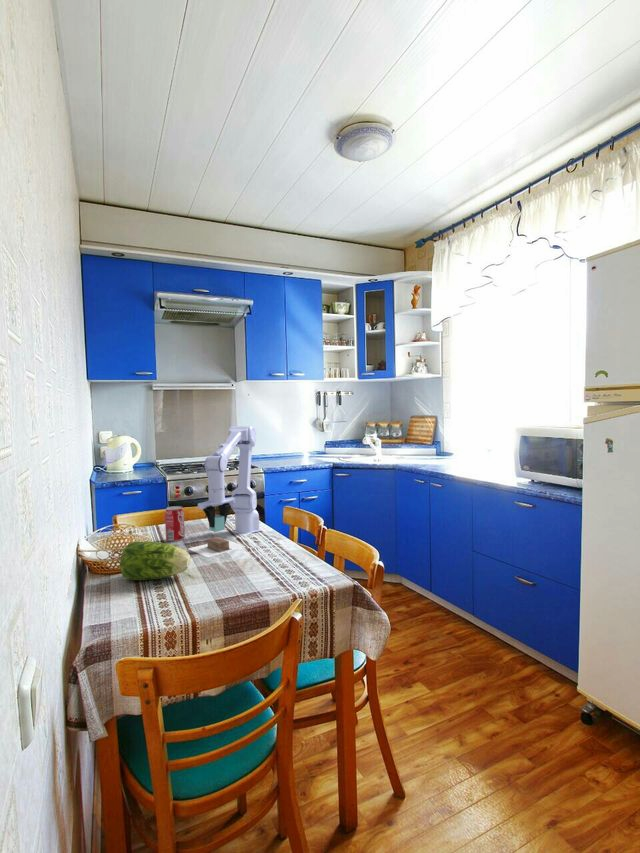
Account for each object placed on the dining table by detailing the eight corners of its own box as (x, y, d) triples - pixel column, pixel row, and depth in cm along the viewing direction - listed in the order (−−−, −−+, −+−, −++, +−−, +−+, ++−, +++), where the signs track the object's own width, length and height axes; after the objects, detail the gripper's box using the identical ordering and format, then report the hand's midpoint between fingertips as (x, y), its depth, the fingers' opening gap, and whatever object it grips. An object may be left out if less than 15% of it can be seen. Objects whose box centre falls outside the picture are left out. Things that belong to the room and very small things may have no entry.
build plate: (224, 540, 178) (224, 539, 178) (246, 548, 168) (246, 546, 168) (187, 550, 166) (187, 548, 166) (207, 559, 156) (207, 557, 156)
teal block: (218, 527, 169) (218, 514, 169) (224, 529, 166) (224, 516, 166) (209, 530, 166) (208, 516, 166) (215, 532, 164) (214, 518, 163)
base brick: (217, 544, 171) (216, 536, 170) (229, 549, 165) (228, 541, 165) (207, 547, 168) (207, 539, 168) (219, 551, 162) (219, 543, 162)
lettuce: (185, 585, 134) (183, 547, 133) (114, 586, 134) (113, 548, 133) (195, 571, 145) (194, 536, 145) (131, 572, 145) (129, 537, 145)
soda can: (181, 543, 176) (180, 509, 175) (163, 543, 176) (162, 509, 175) (187, 537, 183) (186, 505, 182) (169, 537, 183) (168, 505, 182)
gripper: (227, 484, 173) (228, 520, 174) (192, 490, 163) (193, 527, 164) (238, 486, 168) (238, 523, 169) (203, 492, 158) (204, 531, 159)
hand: (217, 525), depth 166 cm, fingers closed on teal block, 4 cm apart
